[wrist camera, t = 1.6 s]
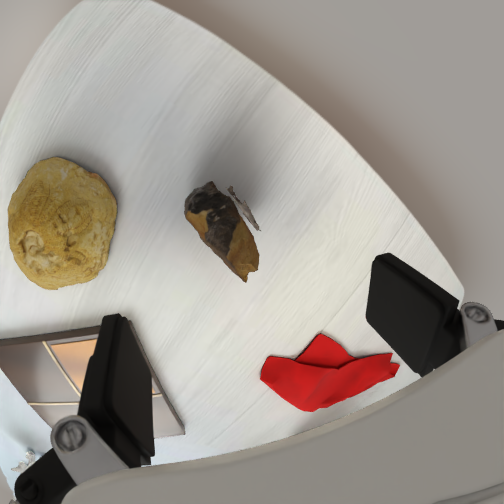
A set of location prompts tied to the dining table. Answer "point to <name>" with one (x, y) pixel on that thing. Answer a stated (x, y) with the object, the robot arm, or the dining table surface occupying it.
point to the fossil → (61, 224)
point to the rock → (224, 227)
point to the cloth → (324, 374)
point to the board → (69, 376)
